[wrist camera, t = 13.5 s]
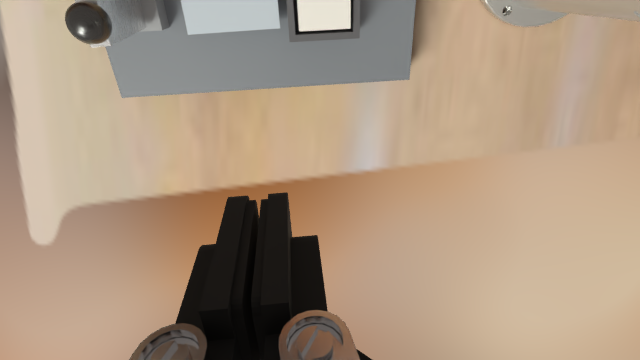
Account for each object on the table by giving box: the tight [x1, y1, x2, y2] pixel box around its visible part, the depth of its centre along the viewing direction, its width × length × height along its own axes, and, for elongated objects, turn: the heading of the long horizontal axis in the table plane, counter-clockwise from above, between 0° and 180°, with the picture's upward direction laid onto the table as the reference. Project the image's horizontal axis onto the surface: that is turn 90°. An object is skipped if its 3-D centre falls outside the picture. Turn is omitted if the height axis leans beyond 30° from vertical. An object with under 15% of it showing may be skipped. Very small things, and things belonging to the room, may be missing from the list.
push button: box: [296, 0, 351, 31], centre depth 28 cm, size 4×4×2 cm
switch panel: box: [105, 0, 416, 98], centre depth 29 cm, size 26×14×6 cm, turn 92°
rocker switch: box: [181, 0, 280, 35], centre depth 27 cm, size 7×4×1 cm, turn 92°
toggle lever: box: [65, 0, 147, 47], centre depth 22 cm, size 2×2×10 cm
